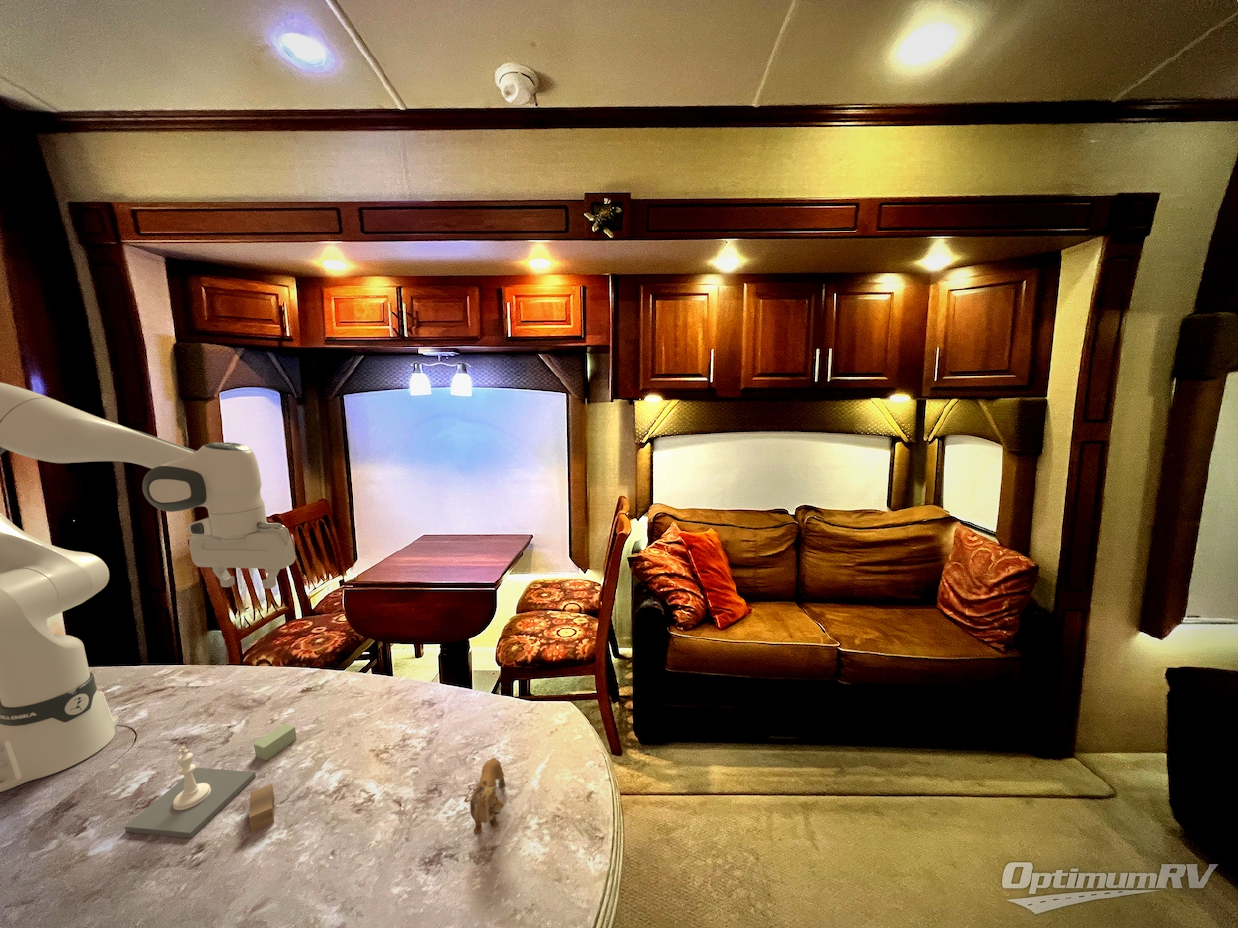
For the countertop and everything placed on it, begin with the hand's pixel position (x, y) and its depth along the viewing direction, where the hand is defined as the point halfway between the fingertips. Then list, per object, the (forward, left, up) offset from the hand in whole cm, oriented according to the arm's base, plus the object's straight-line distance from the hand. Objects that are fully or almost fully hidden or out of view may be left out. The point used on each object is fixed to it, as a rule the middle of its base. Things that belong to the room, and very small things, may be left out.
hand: (249, 586), depth 96 cm
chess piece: (+4, -20, -30) cm, 37 cm away
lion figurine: (+57, -17, -31) cm, 67 cm away
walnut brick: (+18, -21, -31) cm, 42 cm away
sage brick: (+8, -7, -31) cm, 33 cm away
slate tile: (+4, -20, -31) cm, 37 cm away
